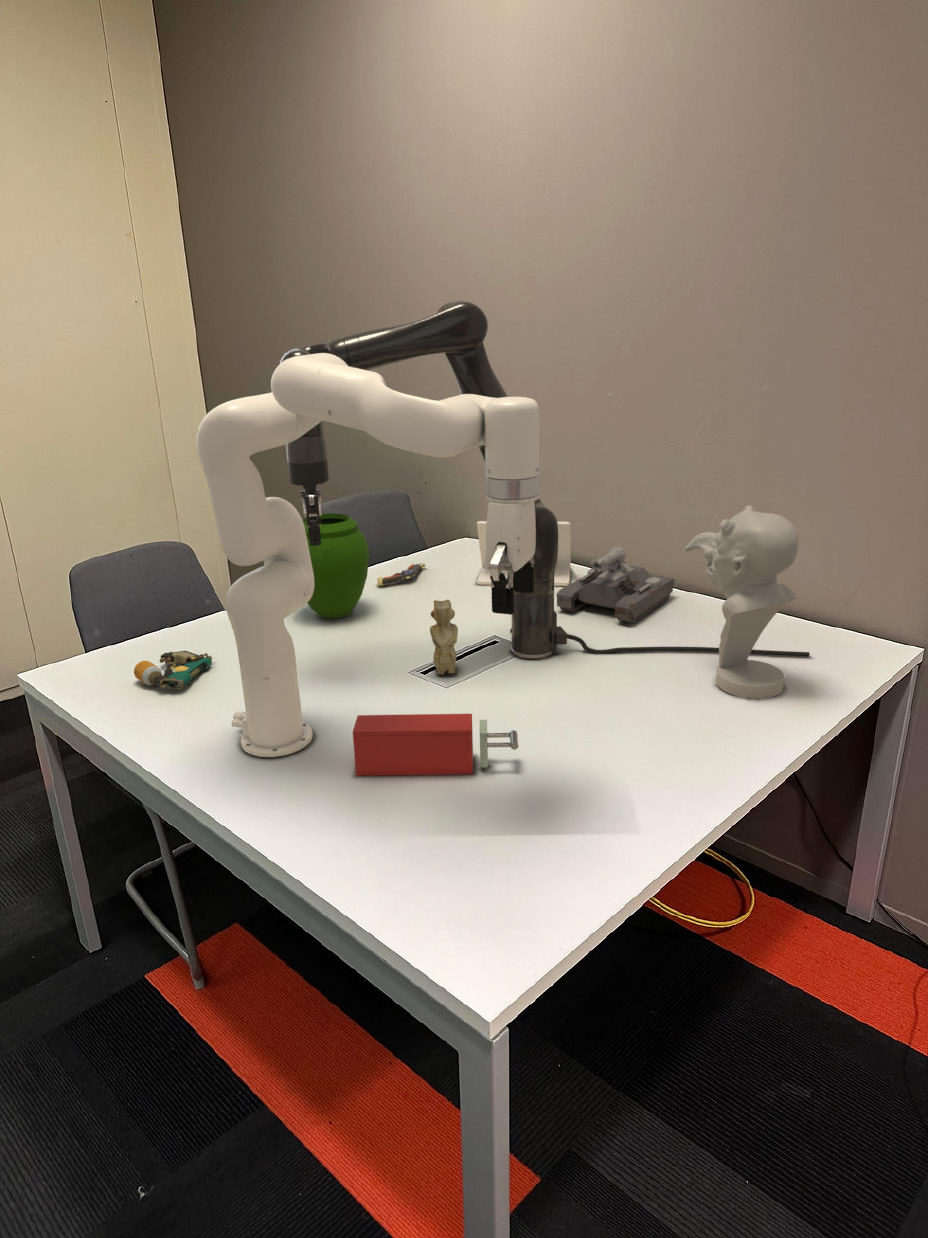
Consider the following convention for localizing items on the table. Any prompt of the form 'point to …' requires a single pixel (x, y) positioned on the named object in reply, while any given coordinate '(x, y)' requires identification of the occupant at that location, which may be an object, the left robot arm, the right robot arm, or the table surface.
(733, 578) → the bust sculpture
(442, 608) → the sculpture
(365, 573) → the vase
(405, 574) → the toy gun
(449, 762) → the cabinet
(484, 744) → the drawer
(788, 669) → the table surface
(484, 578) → the tablet stand
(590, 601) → the toy
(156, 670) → the green toy blaster
